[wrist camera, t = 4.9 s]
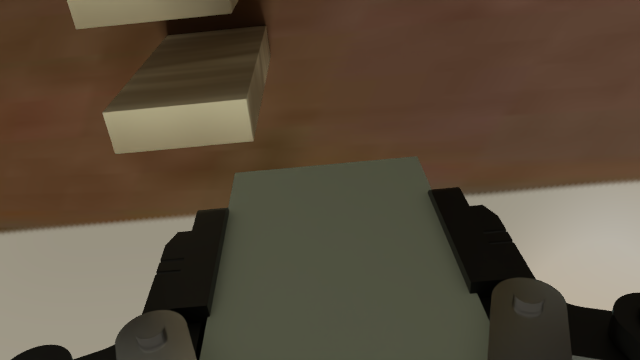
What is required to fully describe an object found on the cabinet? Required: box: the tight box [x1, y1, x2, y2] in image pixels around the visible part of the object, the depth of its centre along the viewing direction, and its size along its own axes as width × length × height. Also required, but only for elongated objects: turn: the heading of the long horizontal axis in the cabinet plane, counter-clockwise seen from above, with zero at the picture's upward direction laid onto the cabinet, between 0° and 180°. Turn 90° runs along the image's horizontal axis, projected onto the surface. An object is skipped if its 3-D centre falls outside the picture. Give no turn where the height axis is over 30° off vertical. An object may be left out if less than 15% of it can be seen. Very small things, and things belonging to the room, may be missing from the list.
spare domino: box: [199, 157, 489, 360], centre depth 11 cm, size 2×5×10 cm, turn 95°
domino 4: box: [103, 26, 270, 154], centre depth 24 cm, size 2×5×10 cm, turn 95°
